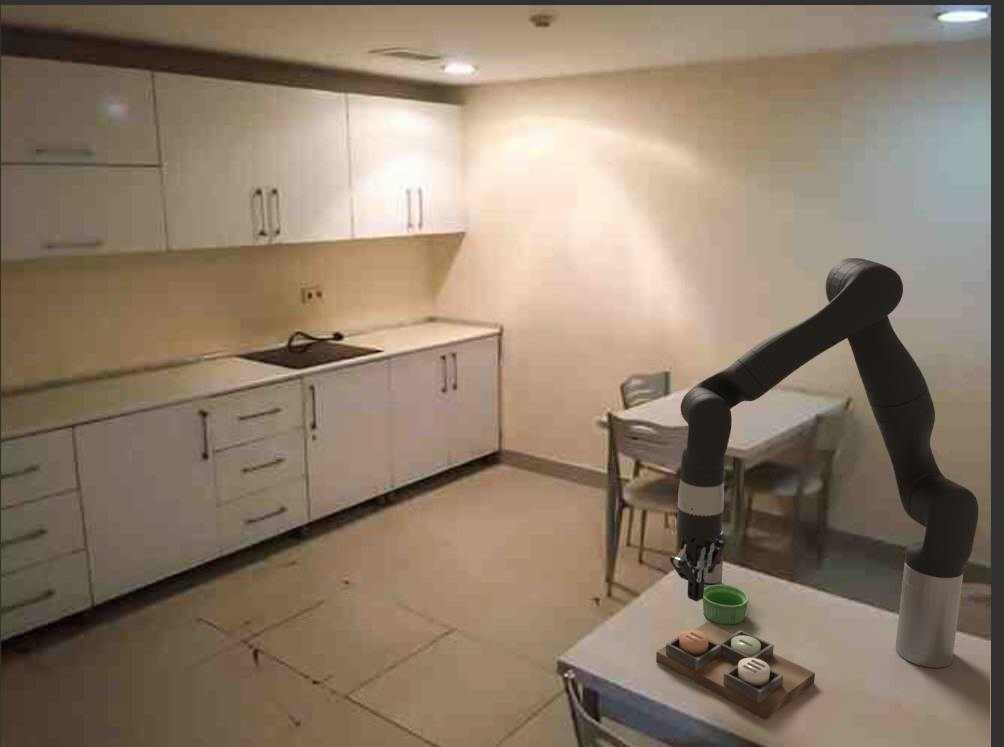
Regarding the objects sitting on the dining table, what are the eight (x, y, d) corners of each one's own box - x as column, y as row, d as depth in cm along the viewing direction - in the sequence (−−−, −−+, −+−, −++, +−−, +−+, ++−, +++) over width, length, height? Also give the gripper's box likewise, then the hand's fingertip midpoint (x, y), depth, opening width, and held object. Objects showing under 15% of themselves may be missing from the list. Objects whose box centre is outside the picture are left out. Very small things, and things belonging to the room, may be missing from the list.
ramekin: (750, 628, 156) (752, 607, 155) (702, 625, 157) (703, 604, 156) (744, 605, 164) (745, 585, 163) (698, 602, 166) (699, 582, 165)
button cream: (748, 664, 138) (749, 653, 137) (775, 677, 134) (775, 666, 133) (731, 676, 134) (732, 665, 134) (758, 690, 131) (759, 678, 130)
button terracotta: (690, 636, 147) (691, 626, 146) (713, 647, 143) (714, 637, 142) (673, 646, 143) (673, 635, 143) (696, 658, 140) (697, 647, 139)
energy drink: (722, 589, 171) (725, 536, 168) (696, 587, 172) (698, 534, 169) (720, 577, 176) (723, 526, 173) (695, 575, 177) (697, 524, 174)
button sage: (741, 642, 147) (741, 631, 146) (765, 653, 143) (766, 643, 143) (725, 652, 144) (725, 641, 143) (749, 664, 140) (750, 653, 139)
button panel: (706, 631, 155) (707, 612, 154) (814, 683, 138) (815, 662, 137) (656, 661, 145) (656, 641, 144) (765, 720, 129) (767, 698, 128)
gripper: (695, 522, 130) (690, 620, 134) (741, 501, 139) (735, 594, 142) (658, 508, 136) (654, 603, 140) (705, 489, 144) (700, 579, 148)
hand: (695, 598), depth 141 cm, fingers closed
